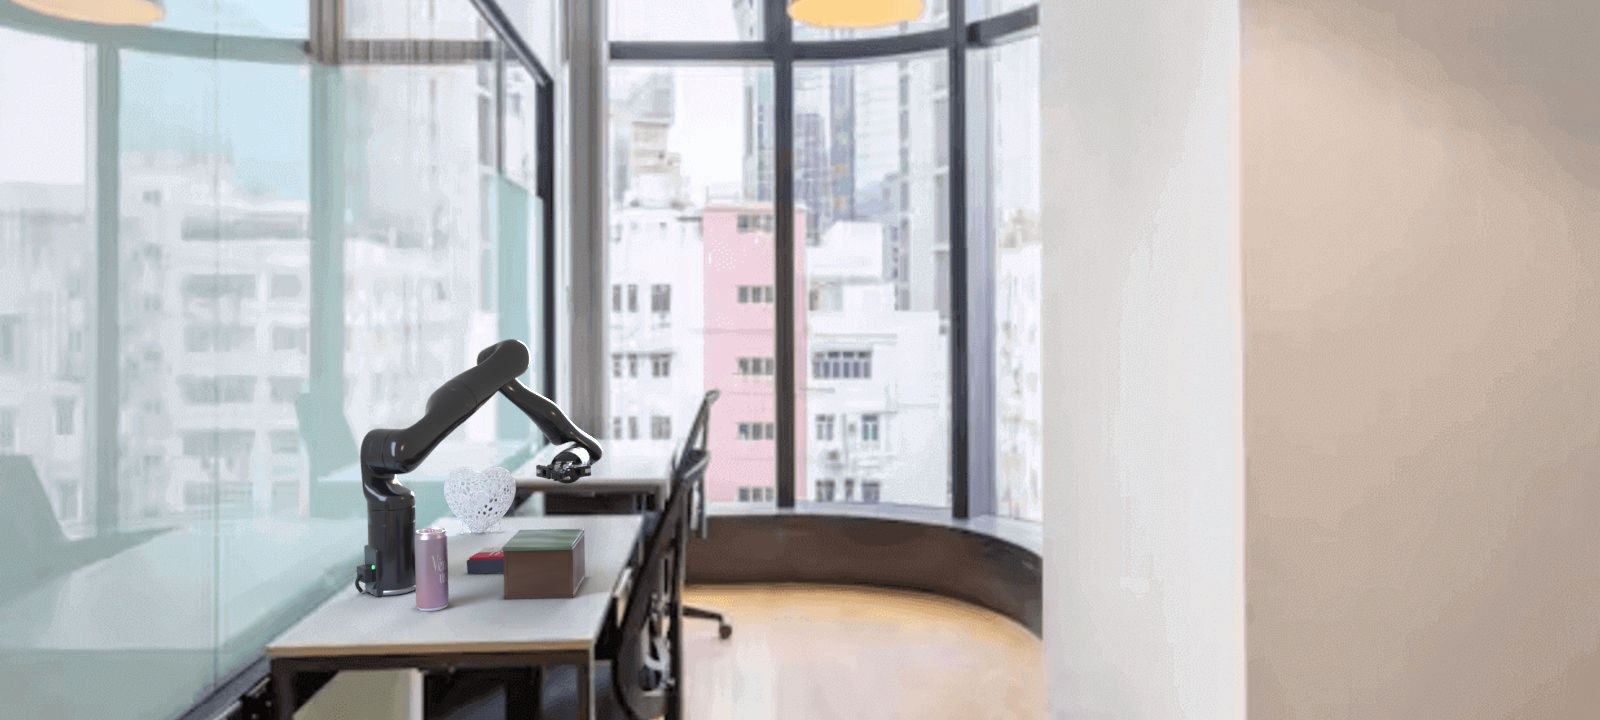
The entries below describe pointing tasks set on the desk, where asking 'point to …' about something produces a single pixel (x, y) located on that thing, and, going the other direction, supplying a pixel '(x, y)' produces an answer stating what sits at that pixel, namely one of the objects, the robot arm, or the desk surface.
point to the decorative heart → (479, 496)
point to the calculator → (486, 561)
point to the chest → (544, 572)
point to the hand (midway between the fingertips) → (556, 476)
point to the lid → (544, 540)
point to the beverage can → (431, 569)
